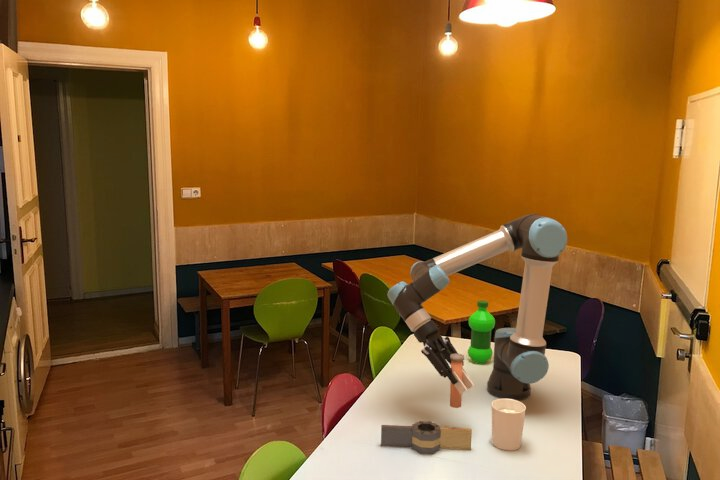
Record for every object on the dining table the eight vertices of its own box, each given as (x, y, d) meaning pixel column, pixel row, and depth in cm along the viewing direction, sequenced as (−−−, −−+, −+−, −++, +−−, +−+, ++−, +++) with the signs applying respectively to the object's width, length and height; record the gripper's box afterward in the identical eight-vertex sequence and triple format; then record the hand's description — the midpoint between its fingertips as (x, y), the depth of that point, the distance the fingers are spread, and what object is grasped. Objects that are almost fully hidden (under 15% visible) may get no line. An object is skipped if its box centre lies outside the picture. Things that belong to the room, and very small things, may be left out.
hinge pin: (461, 402, 184) (463, 353, 181) (463, 408, 180) (464, 358, 177) (448, 402, 184) (449, 353, 181) (449, 408, 180) (450, 358, 177)
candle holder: (504, 455, 168) (507, 415, 166) (482, 439, 177) (484, 402, 175) (530, 447, 172) (533, 409, 170) (507, 432, 181) (510, 396, 179)
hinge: (468, 441, 175) (469, 423, 174) (472, 456, 167) (473, 436, 166) (381, 438, 176) (381, 419, 175) (380, 452, 168) (381, 432, 167)
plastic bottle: (466, 356, 246) (469, 298, 242) (491, 357, 245) (495, 299, 241) (467, 364, 236) (470, 304, 232) (493, 366, 235) (497, 306, 231)
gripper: (429, 326, 194) (472, 387, 187) (400, 339, 182) (445, 404, 174) (443, 313, 190) (488, 375, 183) (414, 326, 178) (461, 392, 170)
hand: (467, 389), depth 178 cm, fingers closed on hinge pin, 3 cm apart
